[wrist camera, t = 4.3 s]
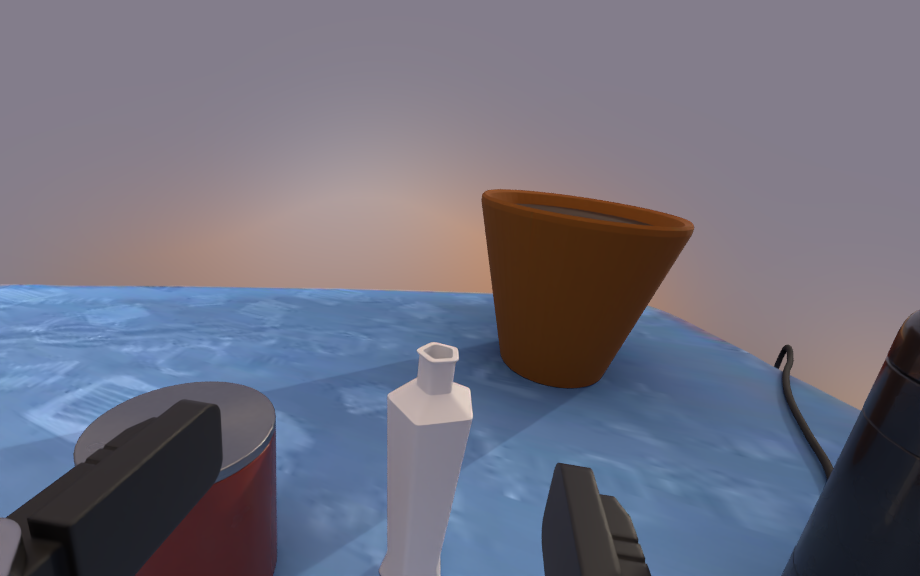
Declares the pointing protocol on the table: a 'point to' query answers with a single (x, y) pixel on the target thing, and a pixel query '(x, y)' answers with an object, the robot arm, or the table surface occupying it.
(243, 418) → the tin can
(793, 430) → the table surface
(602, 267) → the flower pot
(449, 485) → the perfume bottle
